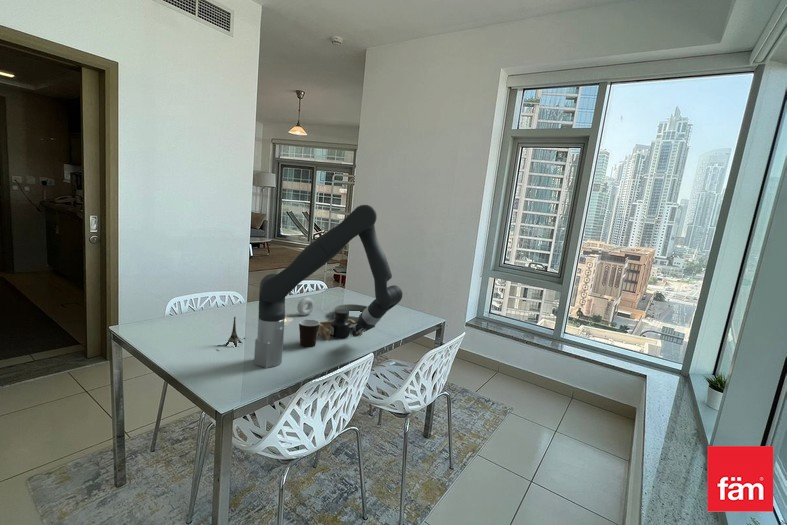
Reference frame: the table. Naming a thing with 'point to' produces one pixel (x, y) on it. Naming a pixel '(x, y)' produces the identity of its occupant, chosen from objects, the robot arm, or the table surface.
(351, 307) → the cake pan
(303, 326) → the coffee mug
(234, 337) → the eiffel tower figurine
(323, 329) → the corral
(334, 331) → the ink bottle
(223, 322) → the table surface
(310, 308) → the donut
